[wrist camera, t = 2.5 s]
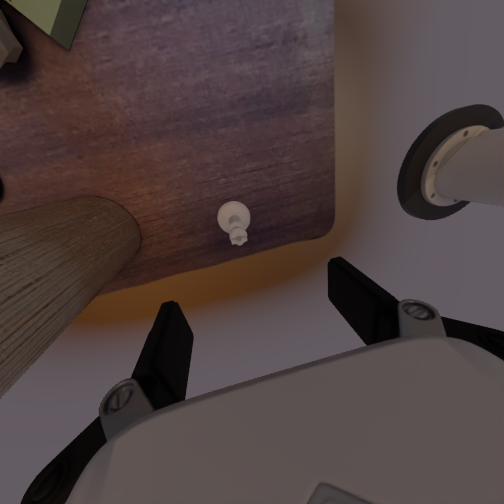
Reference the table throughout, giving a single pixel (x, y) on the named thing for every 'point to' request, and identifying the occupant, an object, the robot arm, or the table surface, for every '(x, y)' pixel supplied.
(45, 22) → the scale
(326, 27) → the table surface
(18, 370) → the planter
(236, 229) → the chess piece
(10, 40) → the faceted club
